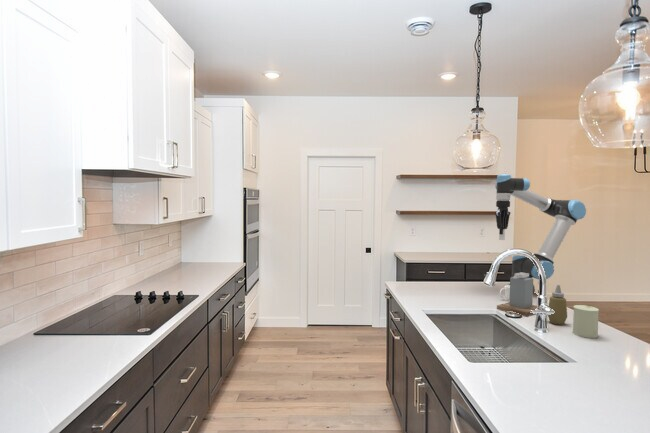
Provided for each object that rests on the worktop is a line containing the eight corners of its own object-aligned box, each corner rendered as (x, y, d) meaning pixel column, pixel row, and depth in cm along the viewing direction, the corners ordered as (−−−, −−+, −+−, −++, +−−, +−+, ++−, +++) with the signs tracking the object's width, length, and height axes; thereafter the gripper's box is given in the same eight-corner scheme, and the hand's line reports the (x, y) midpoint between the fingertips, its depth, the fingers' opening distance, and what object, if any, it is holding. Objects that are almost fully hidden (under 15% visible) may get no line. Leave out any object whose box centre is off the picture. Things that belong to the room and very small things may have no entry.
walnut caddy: (515, 304, 213) (515, 300, 213) (544, 311, 200) (545, 307, 199) (496, 309, 202) (496, 305, 202) (527, 316, 189) (527, 312, 189)
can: (600, 334, 164) (601, 307, 164) (594, 339, 158) (595, 311, 158) (576, 329, 171) (577, 302, 171) (569, 333, 165) (570, 306, 165)
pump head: (521, 289, 204) (521, 272, 204) (528, 291, 201) (529, 273, 201) (510, 292, 198) (510, 274, 198) (517, 293, 195) (518, 275, 195)
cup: (519, 301, 218) (520, 287, 218) (503, 302, 217) (503, 288, 217) (512, 298, 225) (512, 285, 225) (496, 298, 224) (496, 285, 224)
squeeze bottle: (555, 319, 185) (557, 283, 184) (571, 325, 177) (572, 286, 176) (543, 321, 182) (544, 283, 182) (558, 326, 175) (559, 287, 174)
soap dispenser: (517, 303, 206) (518, 276, 206) (532, 307, 200) (533, 278, 199) (509, 305, 202) (510, 277, 201) (524, 309, 195) (525, 280, 195)
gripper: (503, 200, 220) (501, 240, 221) (515, 200, 228) (513, 239, 229) (491, 200, 226) (489, 239, 227) (503, 200, 234) (502, 238, 235)
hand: (502, 239), depth 228 cm, fingers closed
